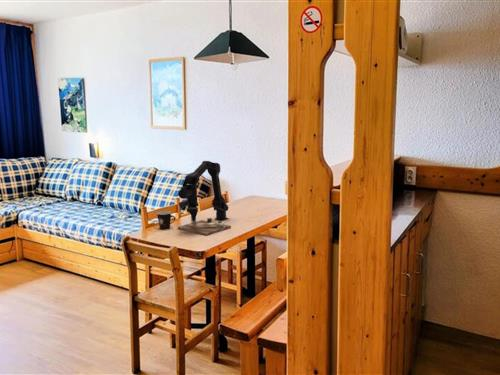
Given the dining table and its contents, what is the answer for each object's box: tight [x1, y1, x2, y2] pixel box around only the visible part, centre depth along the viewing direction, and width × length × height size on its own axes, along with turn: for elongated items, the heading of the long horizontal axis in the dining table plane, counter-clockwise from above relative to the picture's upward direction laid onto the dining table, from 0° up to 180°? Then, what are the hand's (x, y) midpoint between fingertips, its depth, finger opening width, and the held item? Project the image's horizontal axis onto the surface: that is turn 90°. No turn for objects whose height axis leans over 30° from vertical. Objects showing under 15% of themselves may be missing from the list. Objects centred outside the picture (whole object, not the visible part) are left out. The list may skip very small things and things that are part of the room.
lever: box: [190, 216, 225, 227], centre depth 271 cm, size 20×4×8 cm, turn 95°
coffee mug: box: [156, 210, 176, 231], centre depth 278 cm, size 12×9×10 cm
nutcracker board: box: [177, 217, 232, 237], centre depth 276 cm, size 21×26×4 cm
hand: (193, 220), depth 270 cm, fingers closed on lever, 3 cm apart
